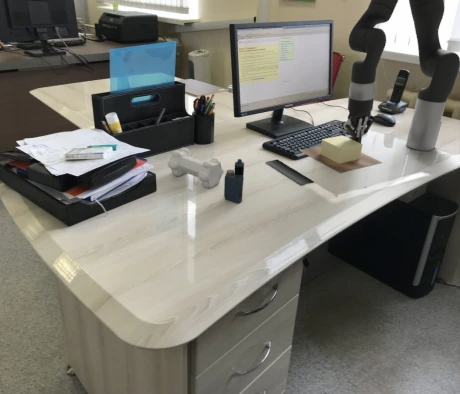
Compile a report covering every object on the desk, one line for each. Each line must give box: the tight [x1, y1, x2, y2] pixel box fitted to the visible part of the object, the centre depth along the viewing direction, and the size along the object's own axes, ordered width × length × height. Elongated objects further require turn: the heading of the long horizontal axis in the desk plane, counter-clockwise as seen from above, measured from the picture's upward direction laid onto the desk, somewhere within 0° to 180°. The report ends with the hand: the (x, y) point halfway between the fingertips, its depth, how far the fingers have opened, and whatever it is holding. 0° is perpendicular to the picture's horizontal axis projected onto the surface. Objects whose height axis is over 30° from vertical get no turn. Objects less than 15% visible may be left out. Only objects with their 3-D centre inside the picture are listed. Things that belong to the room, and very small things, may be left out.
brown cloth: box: [298, 145, 383, 174], centre depth 140 cm, size 18×20×2 cm
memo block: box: [320, 135, 364, 164], centre depth 138 cm, size 9×9×5 cm
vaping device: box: [223, 158, 245, 204], centre depth 111 cm, size 3×5×12 cm, turn 58°
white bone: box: [167, 147, 225, 189], centre depth 122 cm, size 15×9×8 cm, turn 52°
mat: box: [265, 159, 315, 186], centre depth 133 cm, size 14×18×1 cm
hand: (356, 146), depth 142 cm, fingers closed
